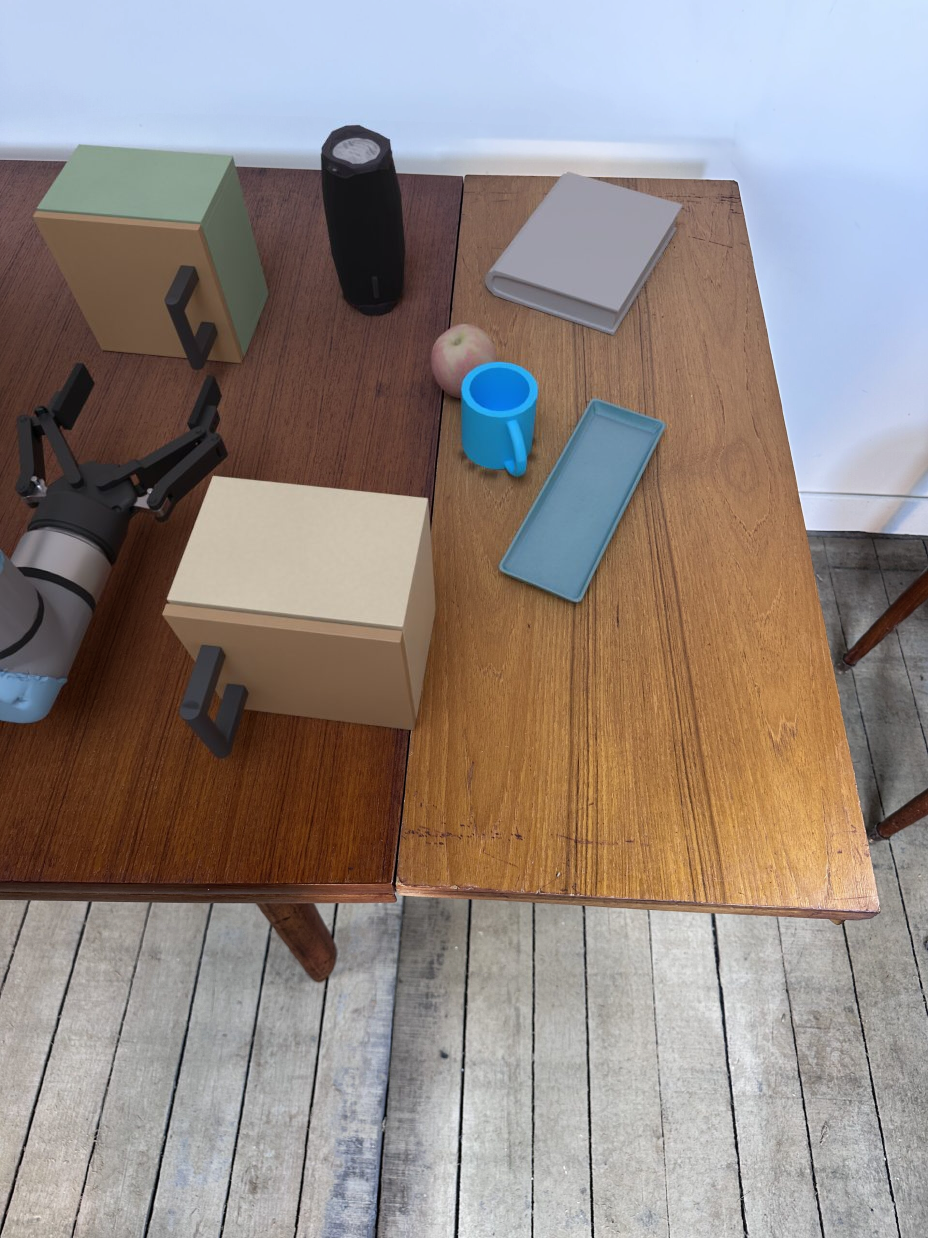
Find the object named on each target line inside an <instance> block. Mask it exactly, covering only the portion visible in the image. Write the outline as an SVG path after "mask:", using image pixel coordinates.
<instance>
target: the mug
mask: <svg viewBox="0 0 928 1238" xmlns="http://www.w3.org/2000/svg"><path fill="white" fill-rule="evenodd" d="M538 387H539V386H538V384H537V380H536V379H535V377H534V376H533V375H532V374H531V372H529V371H528V370H527V369H526V368H524V367H522V366H520V365H517V364H514V363H511V362H504V361H498V362H493V363H486V364H483V365H481V366H478V367H476V368H475V369H473V370H472V371H470V372H469V373H468V374H467V376H466V377H465V379H464V380H463V383H462V388H461V398H460V400H461V402H460V404H461V409H460V410H461V411H460V413H461V415H460V416H461V446H462V450H463V452H464V454H465V455H466V457H467V458H468V459H469V460H470V461H471V462H473V463H474V464H475V465H478V466H479V467H483V468H485V469H489V470H491V469H492V470H506V471H507V472H508V473H509V475H511V476H513V477H515V478H519V477H521V476H523V475H525V473H526V470H527V466H528V456H529V455H530V453H531V451H532V448H533V441H534V430H535V421H536V411H537V404H538V395H539V394H538V393H539V388H538Z"/></svg>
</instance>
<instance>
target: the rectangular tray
mask: <svg viewBox="0 0 928 1238" xmlns="http://www.w3.org/2000/svg"><path fill="white" fill-rule="evenodd" d="M666 427H667V425H666V422H665V421H663V420H661V419H657V418H655V417H652V416H649V415H646V414H642V413H640V412H637V411H634V410H631V409H628V408H626V407H622V406H620V405H616V404H613V403H611V402H608V401H605V400H602V399H599V398H595V397H594V398H591V399H590V400H589V402H588V404H587V407H586V408H585V410H584V412H583V413H582V415H581V417H580V419H579V421H578V423H577V424H576V426H575V428H574V429H573V431H572V433H571V436H569V439H568V441H567V442H566V444H565V446H564V448H563V450H562V451H561V454H560V455H559V457H558V459H557V460H556V462H555V464H554V466H553V468H552V470H551V471H550V473H549V475H548V477H547V478H546V480H545V482H544V484H543V486H542V487H541V489H540V491H539V492H538V494H537V497H536V498H535V499H534V502H533V503H532V505H531V507H530V508H529V510H528V512H527V514H526V516H525V517H524V519H523V521H522V523H521V525H520V526H519V528H518V530H517V532H516V534H515V535H514V537H513V539H512V541H511V542H510V545H509V546H508V548H507V550H506V551H505V553H504V556H503V557H502V559H501V560H500V562H499V563H498V570H499V571H500V572H501V573H503V574H504V575H506V576H507V577H510V578H512V579H514V580H516V581H518V582H519V581H520V582H522V583H524V584H527V585H529V586H531V587H533V588H536V589H538V590H541V591H543V592H545V593H548V594H550V595H553V596H555V597H558V598H560V599H562V600H564V601H566V602H570V603H575V604H576V603H581V602H582V600H583V598H584V596H585V594H586V592H587V590H588V588H589V585H590V583H591V581H592V578H593V577H594V574H595V572H596V570H597V568H598V566H599V565H600V562H601V560H602V558H603V557H604V554H605V552H606V549H607V547H608V546H609V543H610V541H611V539H612V537H613V535H614V533H615V531H616V529H617V527H618V525H619V523H620V522H621V519H622V516H623V515H624V513H625V511H626V509H627V506H628V504H629V503H630V501H631V498H632V496H633V494H634V492H635V491H636V488H637V486H638V484H639V482H640V479H641V477H642V476H643V474H644V471H645V469H646V468H647V465H648V463H649V461H650V459H651V457H652V455H653V453H654V451H655V449H656V447H657V446H658V443H659V441H660V439H661V437H662V435H663V433H664V432H665V430H666Z"/></svg>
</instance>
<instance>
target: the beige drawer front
mask: <svg viewBox="0 0 928 1238" xmlns="http://www.w3.org/2000/svg"><path fill="white" fill-rule="evenodd" d="M161 615H162V617H163V618H164V620H165V621H166V623H167V624H168V625H169V627H170V628H171V629H172V631H173V632H174V634H175V636H176V637H177V638H178V640H179V641H180V642H181V644H182V645H183V647H184V648H185V650H186V651H187V652H188V654H189V655H190V657H191V658H192V659H193V660H194V662H195V663H194V666H193V669H192V671H191V674H190V678H189V681H188V684H187V686H186V690H185V693H184V695H183V698H182V701H181V704H180V706H179V711H178V713H179V716H180V718H182V720H183V721H184V722H185V723H186V724H187V725H188V726H189V728H190V729H191V730H192V731H193V733H194V734H195V735H196V736H197V737H198V739H199V740H200V741H201V742H202V743H203V744H204V745H205V747H206V748H207V749H208V750H209V751H210V753H211V754H213V756H214V757H215V758H216V759H218V760H224V759H227V758H228V757H229V756H230V755H231V754H232V751H233V748H234V744H235V741H236V738H237V734H238V731H239V727H240V725H241V720H242V717H243V714H244V710H248V711H253V712H254V711H256V712H263V713H270V714H280V715H287V716H295V717H302V718H303V717H304V718H311V719H319V720H327V721H335V722H341V723H342V722H344V723H350V724H351V723H352V724H360V725H367V726H368V725H369V726H375V727H382V728H392V729H399V730H400V729H401V730H407V731H415V730H416V725H417V719H416V717H415V711H414V704H413V697H412V691H411V684H410V678H409V671H408V665H407V658H406V651H405V645H404V638H403V632H402V631H398V630H389V629H381V628H372V627H363V626H355V625H346V624H337V623H329V622H320V621H312V620H303V619H294V618H286V617H277V616H269V615H260V614H251V613H243V612H234V611H225V610H217V609H208V608H200V607H191V606H182V605H174V604H170V603H166V604H165V605H164V609H163V610H162V613H161ZM215 693H216V695H218V697H219V698H220V700H221V701H220V703H219V708H218V711H217V714H216V718H215V721H214V720H213V719H212V718H211V717H210V715H209V714H208V713H209V711H210V708H211V705H212V701H213V699H214V695H215Z"/></svg>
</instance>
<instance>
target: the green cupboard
mask: <svg viewBox="0 0 928 1238" xmlns="http://www.w3.org/2000/svg"><path fill="white" fill-rule="evenodd" d="M36 211H43V212H55V213H68V214H80V215H92V216H104V217H117V218H129V219H141V220H153V221H165V222H178V223H190V224H201V227H202V230H203V233H204V236H205V240H206V243H207V246H208V249H209V252H210V255H211V258H212V261H213V264H214V268H215V271H216V274H217V277H218V280H219V283H220V286H221V289H222V292H223V296H224V299H225V302H226V305H227V308H228V311H229V314H230V317H231V320H232V324H233V327H234V330H235V333H236V336H237V339H238V342H239V345H240V348H241V352H242V355H243V358H245V356H246V354H247V352H248V349H249V347H250V344H251V342H252V338H253V336H254V333H255V331H256V329H257V326H258V324H259V320H260V318H261V316H262V314H263V313H262V312H263V310H264V307H265V305H266V302H267V300H268V297H269V295H270V293H269V289H268V286H267V282H266V278H265V274H264V270H263V266H262V262H261V259H260V254H259V251H258V247H257V243H256V239H255V235H254V231H253V228H252V224H251V221H250V220H251V219H250V216H249V213H248V209H247V205H246V201H245V197H244V194H243V190H242V186H241V181H240V179H239V175H238V171H237V166H236V163H235V159H234V156H233V155H225V154H214V153H200V152H188V151H186V152H185V151H176V150H175V151H174V150H173V151H172V150H162V149H161V150H160V149H146V148H135V147H134V148H133V147H120V146H106V145H93V144H81V143H79V144H78V145H77V146H76V148H75V150H74V151H73V152H72V154H71V156H70V157H69V158H68V160H67V161H66V163H65V164H64V166H63V168H62V169H61V170H60V172H59V173H58V175H57V176H56V178H55V179H54V181H53V182H52V184H51V186H50V187H49V189H48V190H47V191H46V193H45V195H44V196H43V198H42V199H41V200H40V202H39V204H38V205H37V206H36Z"/></svg>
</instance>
